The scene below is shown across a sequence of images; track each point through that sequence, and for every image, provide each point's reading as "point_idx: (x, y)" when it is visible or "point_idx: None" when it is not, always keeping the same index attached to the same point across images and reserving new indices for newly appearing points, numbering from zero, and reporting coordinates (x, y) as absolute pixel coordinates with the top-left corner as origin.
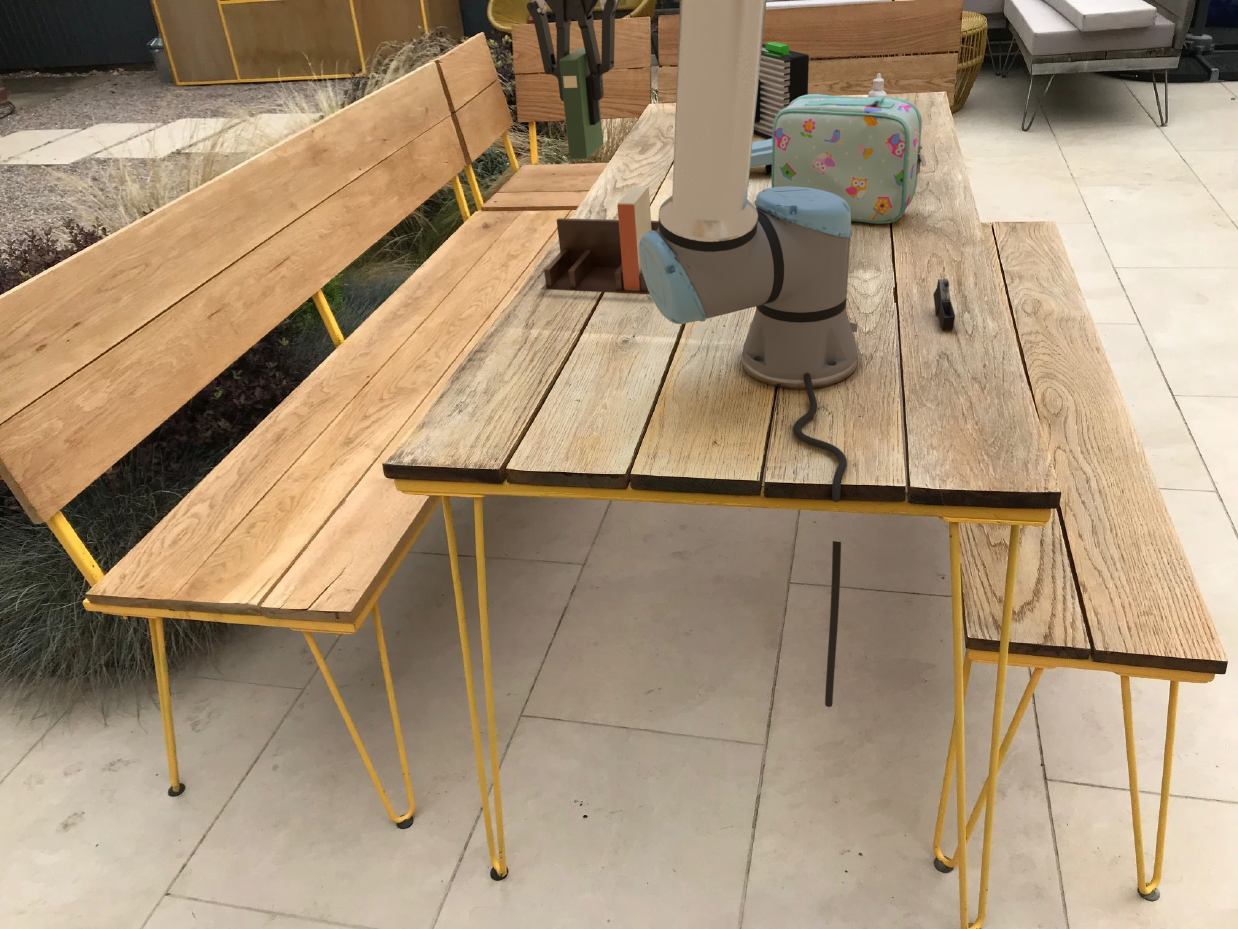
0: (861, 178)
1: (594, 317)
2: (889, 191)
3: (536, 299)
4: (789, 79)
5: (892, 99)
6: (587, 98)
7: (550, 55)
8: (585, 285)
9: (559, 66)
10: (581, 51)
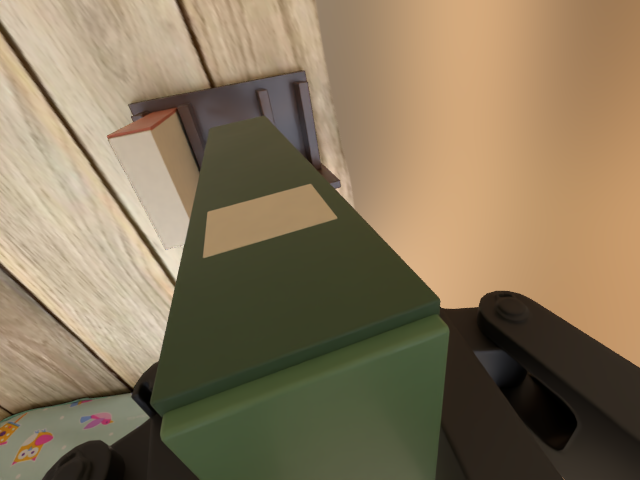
0: (21, 461)
1: (173, 9)
2: None
3: (303, 54)
4: None
5: None
6: None
7: (564, 430)
8: (247, 104)
9: (448, 356)
10: None
